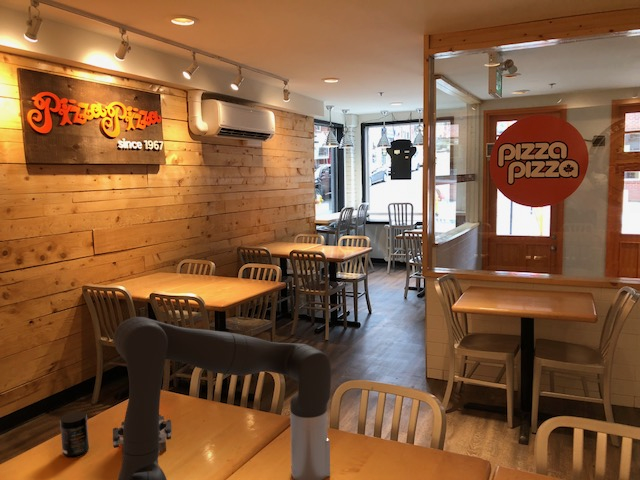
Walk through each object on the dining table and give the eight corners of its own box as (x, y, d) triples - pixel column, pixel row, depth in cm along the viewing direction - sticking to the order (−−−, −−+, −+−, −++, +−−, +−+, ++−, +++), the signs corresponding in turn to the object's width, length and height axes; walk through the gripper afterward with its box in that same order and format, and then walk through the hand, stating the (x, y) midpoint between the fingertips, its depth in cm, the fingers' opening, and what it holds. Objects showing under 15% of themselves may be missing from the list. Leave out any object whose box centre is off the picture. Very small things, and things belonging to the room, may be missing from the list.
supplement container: (94, 449, 146) (92, 414, 145) (73, 461, 140) (70, 424, 139) (79, 443, 149) (76, 409, 148) (57, 455, 143) (54, 419, 142)
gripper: (172, 431, 126) (169, 403, 141) (109, 440, 122) (113, 410, 137) (173, 460, 127) (171, 429, 142) (111, 471, 123) (115, 437, 138)
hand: (142, 420), depth 140 cm, fingers open, 8 cm apart
